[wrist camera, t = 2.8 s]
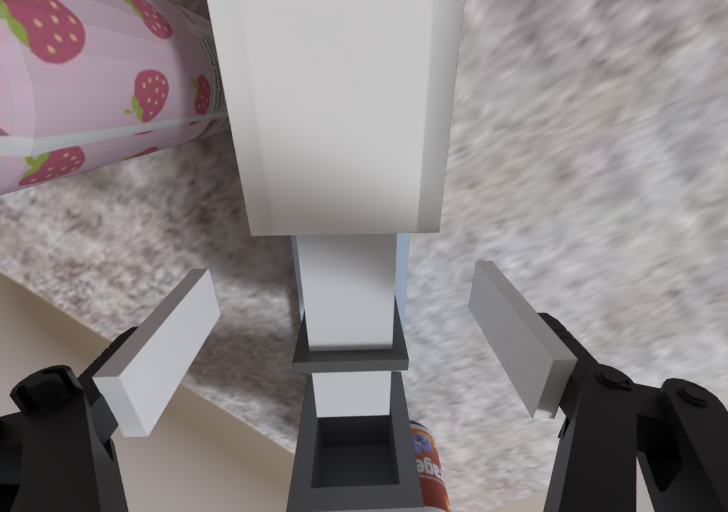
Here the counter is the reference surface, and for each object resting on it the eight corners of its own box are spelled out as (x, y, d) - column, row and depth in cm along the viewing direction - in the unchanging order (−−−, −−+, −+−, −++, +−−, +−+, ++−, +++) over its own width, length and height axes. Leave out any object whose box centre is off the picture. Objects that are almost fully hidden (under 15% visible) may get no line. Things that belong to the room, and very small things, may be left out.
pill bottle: (444, 441, 33) (483, 585, 24) (398, 464, 35) (416, 608, 25) (411, 412, 31) (438, 558, 21) (363, 438, 33) (367, 585, 23)
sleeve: (274, -14, 15) (180, -143, 7) (411, -14, 15) (479, -139, 7) (294, 175, 19) (250, 236, 11) (402, 173, 19) (439, 232, 11)
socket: (307, 375, 27) (285, 512, 18) (400, 372, 27) (424, 507, 18) (313, 420, 30) (296, 559, 21) (397, 417, 30) (417, 554, 21)
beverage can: (155, -6, 16) (-867, -522, 3) (265, 47, 17) (-43, -120, 4) (143, 108, 18) (-425, 148, 5) (241, 148, 19) (-2, 267, 6)
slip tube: (256, -176, 11) (177, -399, 6) (416, -174, 11) (466, -390, 6) (313, 355, 22) (302, 429, 17) (392, 352, 22) (403, 426, 17)
